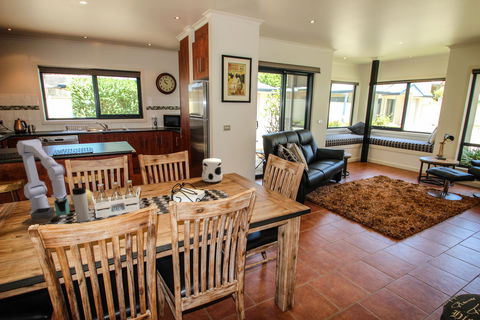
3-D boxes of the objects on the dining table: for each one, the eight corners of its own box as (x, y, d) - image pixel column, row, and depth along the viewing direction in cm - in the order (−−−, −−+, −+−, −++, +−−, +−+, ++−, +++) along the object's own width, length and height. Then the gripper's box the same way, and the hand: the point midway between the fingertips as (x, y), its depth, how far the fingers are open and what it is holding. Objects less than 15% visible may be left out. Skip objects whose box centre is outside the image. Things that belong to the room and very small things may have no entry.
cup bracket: (37, 213, 150) (36, 208, 149) (56, 211, 152) (55, 206, 151) (29, 220, 141) (28, 215, 140) (49, 218, 143) (48, 213, 143)
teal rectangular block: (59, 212, 148) (57, 199, 146) (69, 211, 149) (67, 198, 148) (56, 215, 143) (54, 202, 142) (66, 214, 145) (64, 201, 143)
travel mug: (76, 224, 139) (70, 190, 134) (78, 219, 145) (72, 186, 140) (89, 222, 141) (84, 188, 137) (90, 217, 147) (86, 184, 143)
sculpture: (76, 201, 170) (74, 186, 168) (96, 200, 173) (94, 185, 170) (69, 208, 159) (66, 192, 157) (90, 207, 162) (87, 191, 160)
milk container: (198, 180, 216) (197, 160, 212) (214, 176, 228) (214, 157, 224) (210, 185, 204) (209, 163, 200) (226, 181, 216) (226, 160, 212)
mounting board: (37, 214, 151) (37, 212, 151) (59, 212, 154) (58, 210, 154) (26, 224, 139) (26, 222, 139) (50, 221, 142) (50, 219, 142)
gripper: (50, 184, 146) (54, 206, 149) (49, 191, 135) (53, 215, 138) (64, 182, 150) (68, 204, 153) (65, 189, 139) (69, 212, 142)
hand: (62, 209), depth 146 cm, fingers closed on teal rectangular block, 6 cm apart
